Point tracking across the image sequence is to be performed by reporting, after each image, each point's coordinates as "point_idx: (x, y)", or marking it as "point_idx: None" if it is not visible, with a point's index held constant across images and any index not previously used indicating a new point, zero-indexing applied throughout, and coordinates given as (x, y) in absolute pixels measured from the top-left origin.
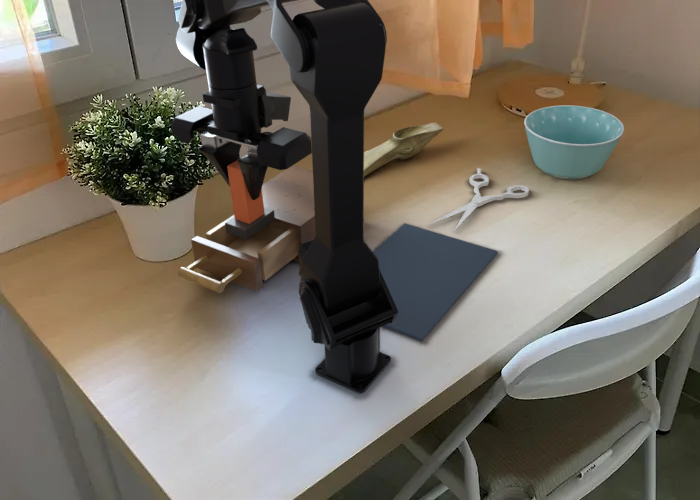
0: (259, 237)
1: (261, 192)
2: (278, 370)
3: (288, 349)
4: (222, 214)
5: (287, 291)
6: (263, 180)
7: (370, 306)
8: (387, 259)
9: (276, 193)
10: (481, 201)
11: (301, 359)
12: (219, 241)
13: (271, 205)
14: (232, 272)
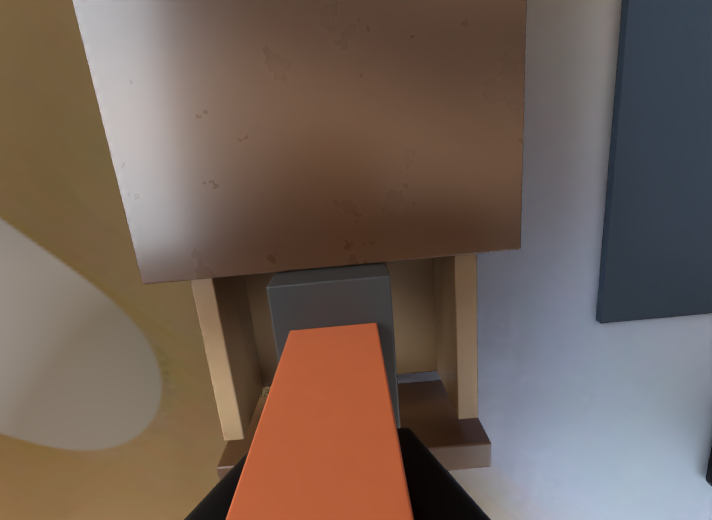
0: None
1: (389, 393)
2: (634, 507)
3: (619, 463)
4: (32, 157)
5: (500, 333)
6: (480, 511)
7: None
8: (689, 53)
9: (221, 83)
10: None
11: (658, 467)
12: (250, 376)
13: (293, 192)
14: None
